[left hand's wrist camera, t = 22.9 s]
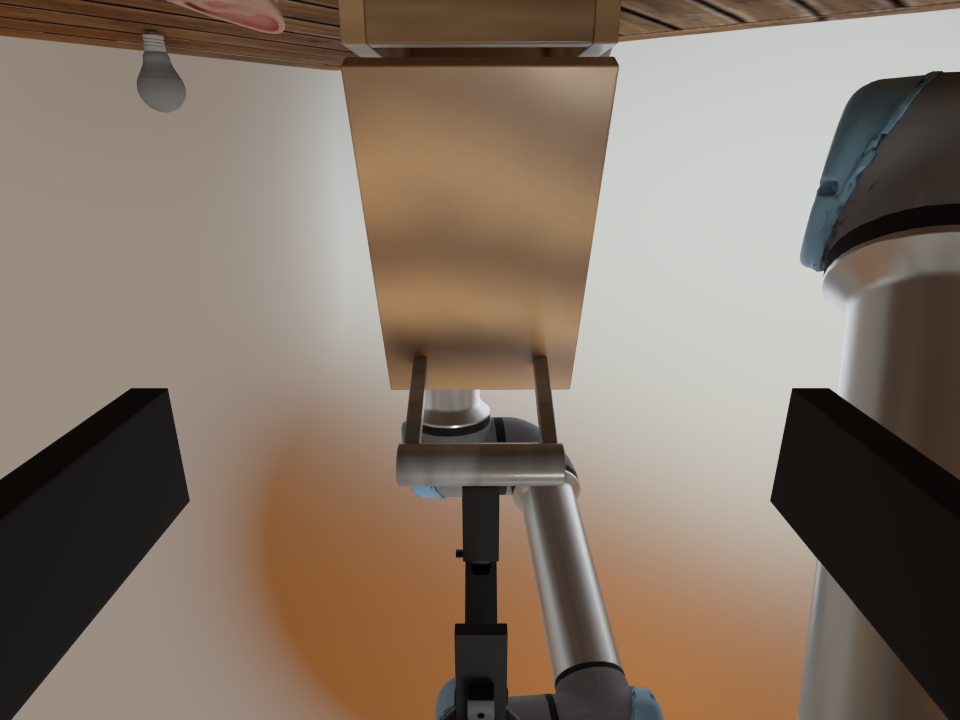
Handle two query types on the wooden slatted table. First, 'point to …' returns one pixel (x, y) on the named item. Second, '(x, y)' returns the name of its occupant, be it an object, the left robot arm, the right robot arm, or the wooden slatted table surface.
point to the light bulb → (159, 77)
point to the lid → (480, 236)
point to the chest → (479, 27)
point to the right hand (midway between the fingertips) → (480, 543)
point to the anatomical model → (241, 12)
